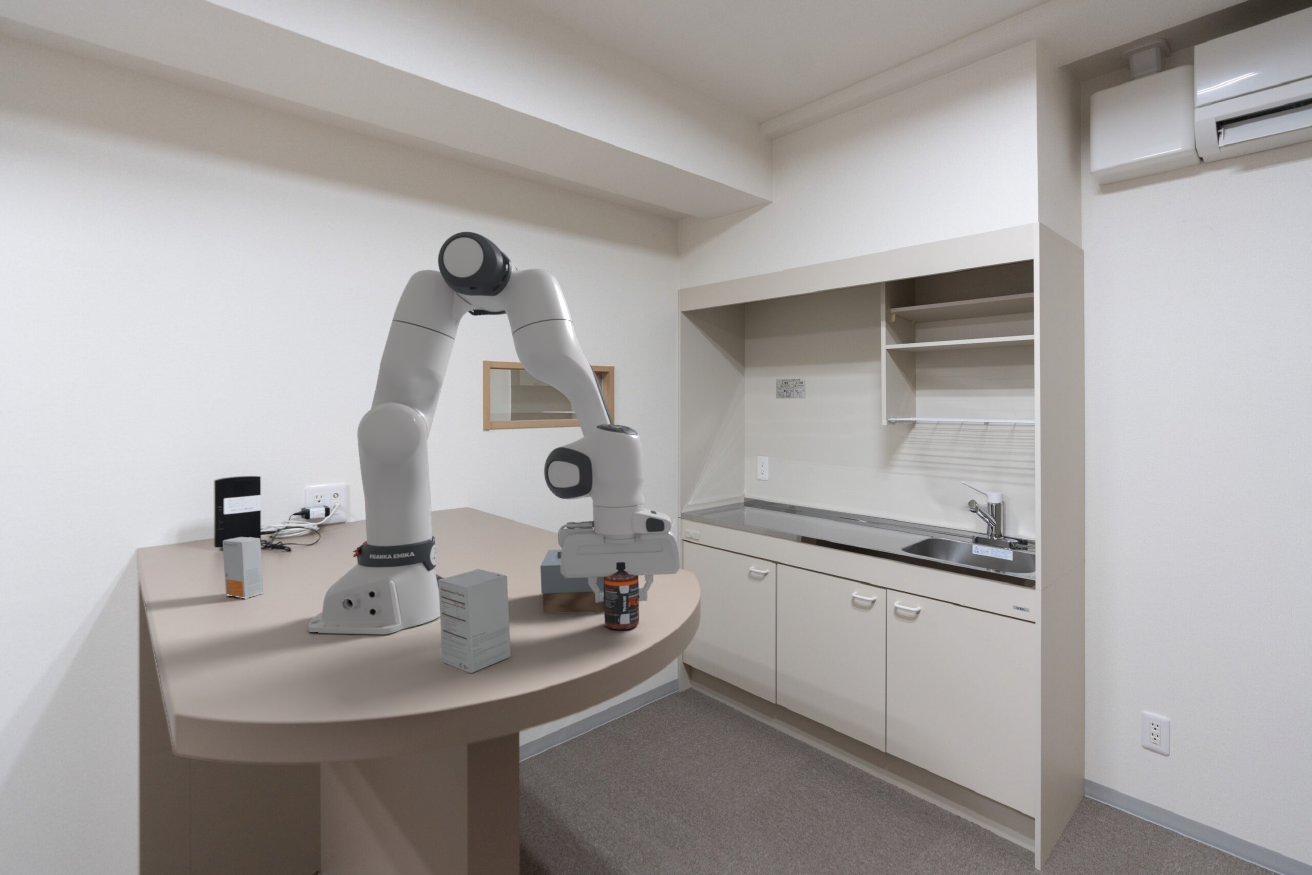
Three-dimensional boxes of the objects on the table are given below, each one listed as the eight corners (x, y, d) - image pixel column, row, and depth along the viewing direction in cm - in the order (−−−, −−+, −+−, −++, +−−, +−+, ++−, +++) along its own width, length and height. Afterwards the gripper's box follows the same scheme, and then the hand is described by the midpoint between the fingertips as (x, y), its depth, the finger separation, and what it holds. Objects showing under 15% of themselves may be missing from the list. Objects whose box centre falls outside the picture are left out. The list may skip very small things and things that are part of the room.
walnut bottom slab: (543, 616, 114) (542, 594, 114) (551, 595, 127) (550, 575, 127) (614, 612, 115) (614, 591, 115) (615, 592, 128) (614, 573, 128)
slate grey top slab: (541, 593, 114) (540, 565, 114) (549, 575, 127) (548, 549, 127) (612, 590, 115) (611, 562, 115) (613, 572, 128) (612, 547, 128)
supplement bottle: (635, 631, 103) (633, 564, 102) (600, 630, 104) (598, 563, 104) (643, 619, 109) (641, 555, 108) (610, 618, 110) (608, 554, 110)
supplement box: (482, 646, 99) (479, 567, 98) (512, 657, 94) (508, 574, 93) (440, 662, 93) (436, 578, 92) (469, 674, 88) (465, 586, 88)
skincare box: (224, 597, 130) (221, 540, 129) (245, 591, 134) (241, 536, 133) (244, 599, 128) (241, 542, 127) (264, 593, 132) (261, 537, 131)
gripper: (555, 525, 102) (558, 609, 103) (680, 521, 103) (682, 604, 104) (559, 519, 108) (561, 597, 109) (676, 515, 109) (678, 592, 110)
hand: (621, 600), depth 106 cm, fingers closed on supplement bottle, 6 cm apart
